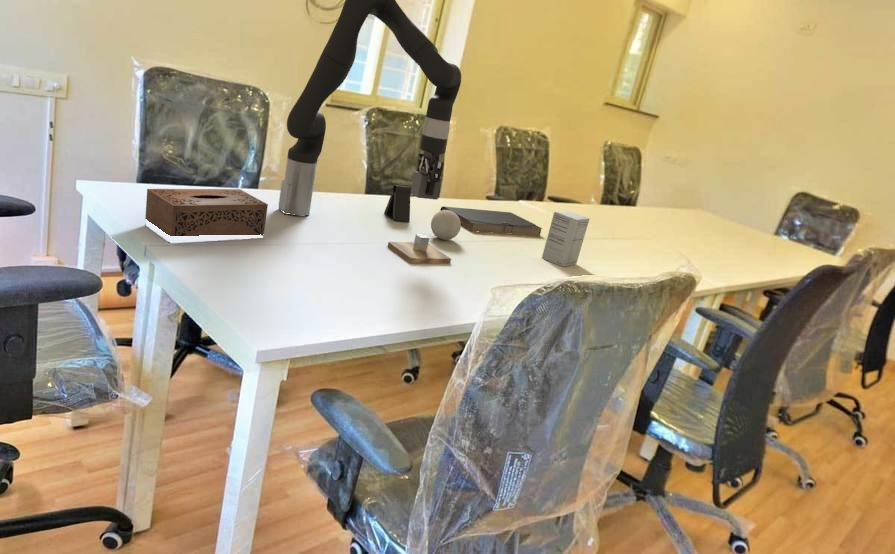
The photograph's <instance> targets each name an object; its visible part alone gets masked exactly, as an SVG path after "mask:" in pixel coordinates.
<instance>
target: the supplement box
mask: <svg viewBox="0 0 895 554" xmlns="http://www.w3.org/2000/svg"><path fill="white" fill-rule="evenodd" d="M551 219H552V220H551V222H550V227H549V230H548V233H547V236H546V237H547V238H546V241H545V244H544V247H543V252H542V255H541V256H542V257H541V258H542V259H544V260H546V261H547V262H550V263H553V264H556V265H557V266H560V267H563V268H564V267H565V268H566V267H569V266H574V265H577V263H578V259H579V256H580V253H581V249H582V247H583V246H582V245H583V243H584V239H585V237H586V232H587V230H588V225H589V223H590V218H589V217H588V216H587V217H586V216H584V215H581V214H578V213H575V212H573V211H570V210H562V211H561V210H559V211H554V212H553V215H552V218H551Z"/></svg>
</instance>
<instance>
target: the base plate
mask: <svg viewBox="0 0 895 554" xmlns="http://www.w3.org/2000/svg"><path fill="white" fill-rule="evenodd" d="M413 246H414V242H410V241H409V242H407V241H406V242H405V241H404V242H403V241H388V242H387V247H388V248H389V249H390V248H391V249H390V250H392V251H393V252H394V251H395V253H396V254H397V255H399V257H401V258H403V259H404V260H405V261H406V262H408V263H410V264H451V262H452V258H451V257H450V256H448V255H446V254H445V253H443V252H442V251H440V250H439V249H438V248H436V247H434V246H433V245H431V244H430V243H428V247H427V252H417V251H416V250H415V249H413Z"/></svg>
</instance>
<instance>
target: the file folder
mask: <svg viewBox="0 0 895 554" xmlns="http://www.w3.org/2000/svg"><path fill="white" fill-rule="evenodd" d="M442 210H450V211H452V212H454V213H456V214H457V216H458V217H459V219H460V222H461V225H462V226H461V227H463V228H465V229H466V228H467V231H470V232H473V231H479V232H478V233H488V232H493V233H492V234H503V233H504V234H507V233H512V234H511V235H524V234H529V235H528V236H536V235H539V236H541V233H542V229H543V227H540V226H539V225H536V224H535V223H533V222H531V221H529V220H527V219H526V218H523V217H521V216H519V215H517V214H515V213H514V212H510V211H497V210H487V209H475V208H466V207H465V208H463V207H454V206H453V207H452V206H445V205H444V206H443V205H442V206H441V207H440V209H439V211H442Z"/></svg>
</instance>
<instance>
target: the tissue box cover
mask: <svg viewBox="0 0 895 554" xmlns="http://www.w3.org/2000/svg"><path fill="white" fill-rule="evenodd" d="M268 205H269V204H268V203H266V202H264V201H262V200H261V199H259V198H257V197H256V196H253V195H251V194H249V193H248V192H246V191H244V190H242V189H240V188H231V189H230V188H147V189H146V203H145V216H144V217H145V219H147V220H148V221H149V222H151V223H152V224H154V225H155V226H157V227H158V228H159V229H161V230H162V231H163V232H165V233H166V234H168V235H170V236H199V235H260V234H261V235H263V234H264V235H265V230H266V222H267V221H266V220H267V213H268ZM145 219H144V220H145Z"/></svg>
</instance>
